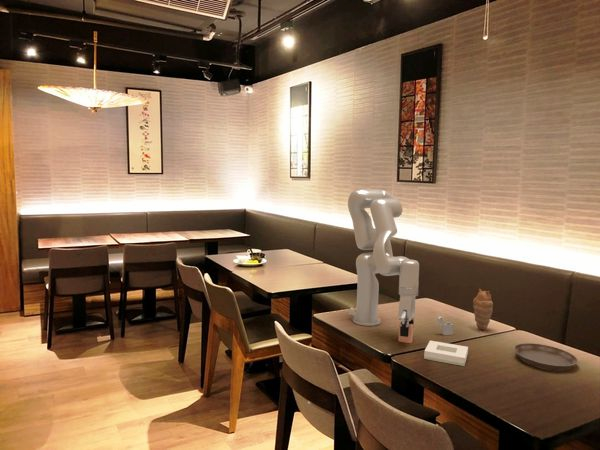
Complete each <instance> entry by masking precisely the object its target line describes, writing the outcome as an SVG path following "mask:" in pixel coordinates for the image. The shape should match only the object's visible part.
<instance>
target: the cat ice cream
mask: <svg viewBox="0 0 600 450" xmlns="http://www.w3.org/2000/svg"><path fill="white" fill-rule="evenodd" d="M472 302H473V304H472V305H473V310H474V311H473V314H474V321H475V322H476V327H477V329H479V330H481V331H485V330H487V329H488V328H489V325H490V321H491V319H492V314H493V307H494V303H493V301H492V294H491V293H490V291H489V290H488V291H487V290H482V289H481V288H479V289H478V293H477V295H476V297H474V298H473V301H472Z"/></svg>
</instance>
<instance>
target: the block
mask: <svg viewBox="0 0 600 450" xmlns="http://www.w3.org/2000/svg"><path fill="white" fill-rule="evenodd" d="M400 324H401V322H400V323H399V324H398V338H397V339H398V342H400V343H405V344H411V343H413V336H414V335H413V334H414V326H413V324H408V327H409V334H408V337H404V336H400Z"/></svg>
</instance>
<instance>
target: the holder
mask: <svg viewBox="0 0 600 450" xmlns="http://www.w3.org/2000/svg"><path fill="white" fill-rule="evenodd" d="M423 352H424V354H423V355H424V356H423V359H424V360H429V361H434V362H440V363H445V364H451V365H456V366H461V367H465V366H466V361H467V358H468V356H469V355H468V354H469V346H466V345H459V344H453V343H448V342H447V343H446V342H441V341H435V340H429V342H428V344H427V346H426V347H425V349H424V351H423Z"/></svg>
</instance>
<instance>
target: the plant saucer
mask: <svg viewBox="0 0 600 450" xmlns="http://www.w3.org/2000/svg"><path fill="white" fill-rule="evenodd" d="M513 349H514V352H515V354H516V356H518V358H519V359H520V360H521V361H522V362H524V363H526V364H527V365H530V366H532V367H535V368H536V369H537V368H538V369H542V370H546V371H552V372H553V371H554V372H555V371H556V372H562V371H567V370H570V369H572V368H573V367H575V366H576V365H577V364H578V362H579V361H578V360H579V359H578V358H577V357H576V356H575V355H574V354H573V353H570V352H568V351H566V350H564V349H561V348H558V347H555V346H550V345H546V344H540V343H529V342H527V343H526V342H524V343H519V344H515V346H514V347H513Z"/></svg>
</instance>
